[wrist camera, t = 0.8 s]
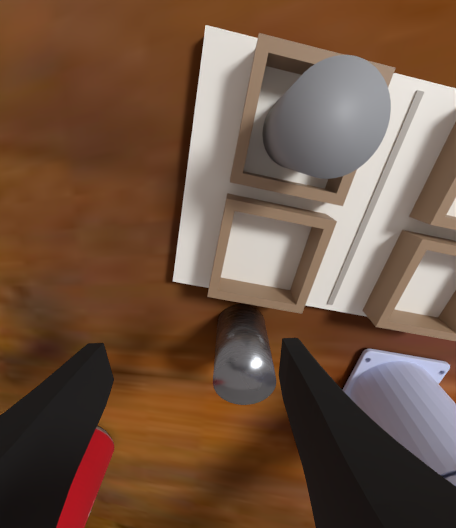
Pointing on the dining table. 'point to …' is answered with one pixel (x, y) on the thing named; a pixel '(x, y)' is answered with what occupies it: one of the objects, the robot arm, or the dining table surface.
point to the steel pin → (243, 356)
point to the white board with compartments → (320, 185)
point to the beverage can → (87, 481)
